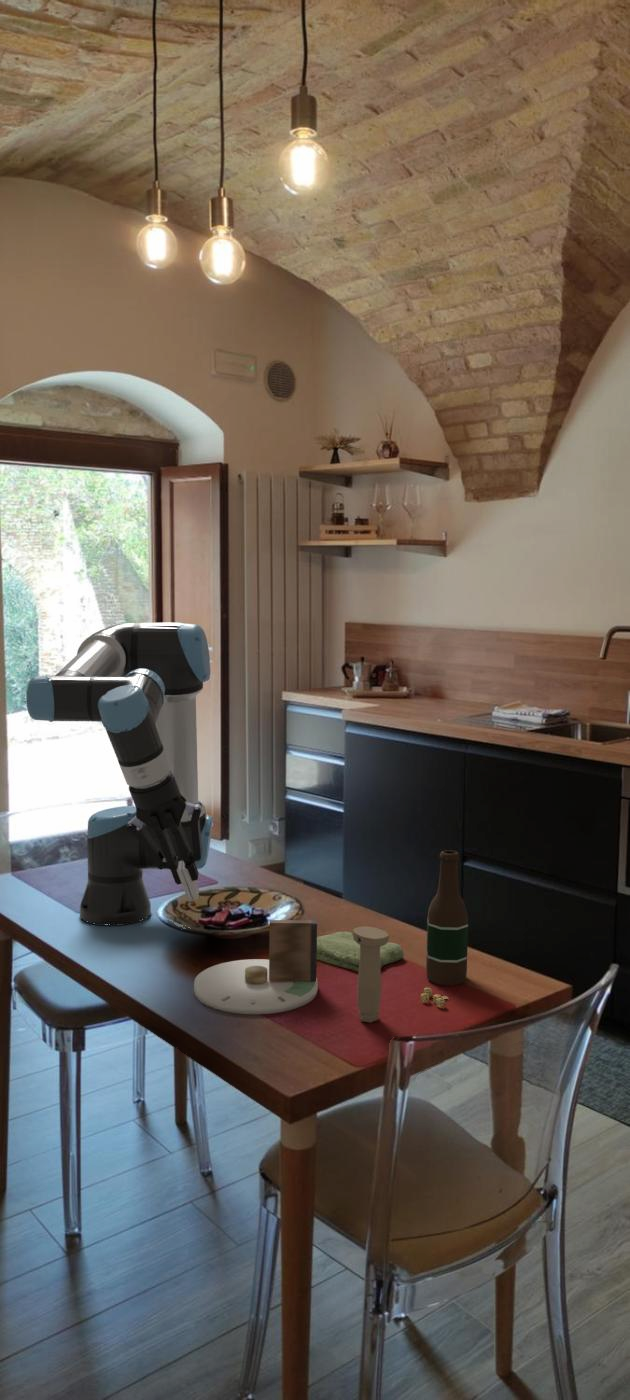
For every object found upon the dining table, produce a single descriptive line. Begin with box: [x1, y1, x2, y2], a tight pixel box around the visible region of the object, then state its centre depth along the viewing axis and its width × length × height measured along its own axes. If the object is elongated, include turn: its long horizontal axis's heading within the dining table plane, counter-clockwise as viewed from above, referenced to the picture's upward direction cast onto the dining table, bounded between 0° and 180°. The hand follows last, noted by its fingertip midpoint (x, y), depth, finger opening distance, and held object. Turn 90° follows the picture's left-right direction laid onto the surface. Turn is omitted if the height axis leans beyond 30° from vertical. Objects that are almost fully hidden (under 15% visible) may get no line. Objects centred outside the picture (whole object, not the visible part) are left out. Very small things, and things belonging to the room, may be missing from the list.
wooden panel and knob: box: [245, 919, 318, 984], centre depth 188 cm, size 13×4×11 cm, turn 92°
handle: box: [352, 925, 390, 1024], centre depth 175 cm, size 5×6×15 cm
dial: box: [193, 958, 319, 1015], centre depth 188 cm, size 22×22×2 cm
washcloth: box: [317, 931, 405, 973], centre depth 206 cm, size 13×18×3 cm
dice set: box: [420, 987, 449, 1008], centre depth 184 cm, size 5×5×2 cm
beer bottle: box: [425, 849, 469, 986], centre depth 193 cm, size 8×8×24 cm
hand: (193, 895), depth 180 cm, fingers closed
